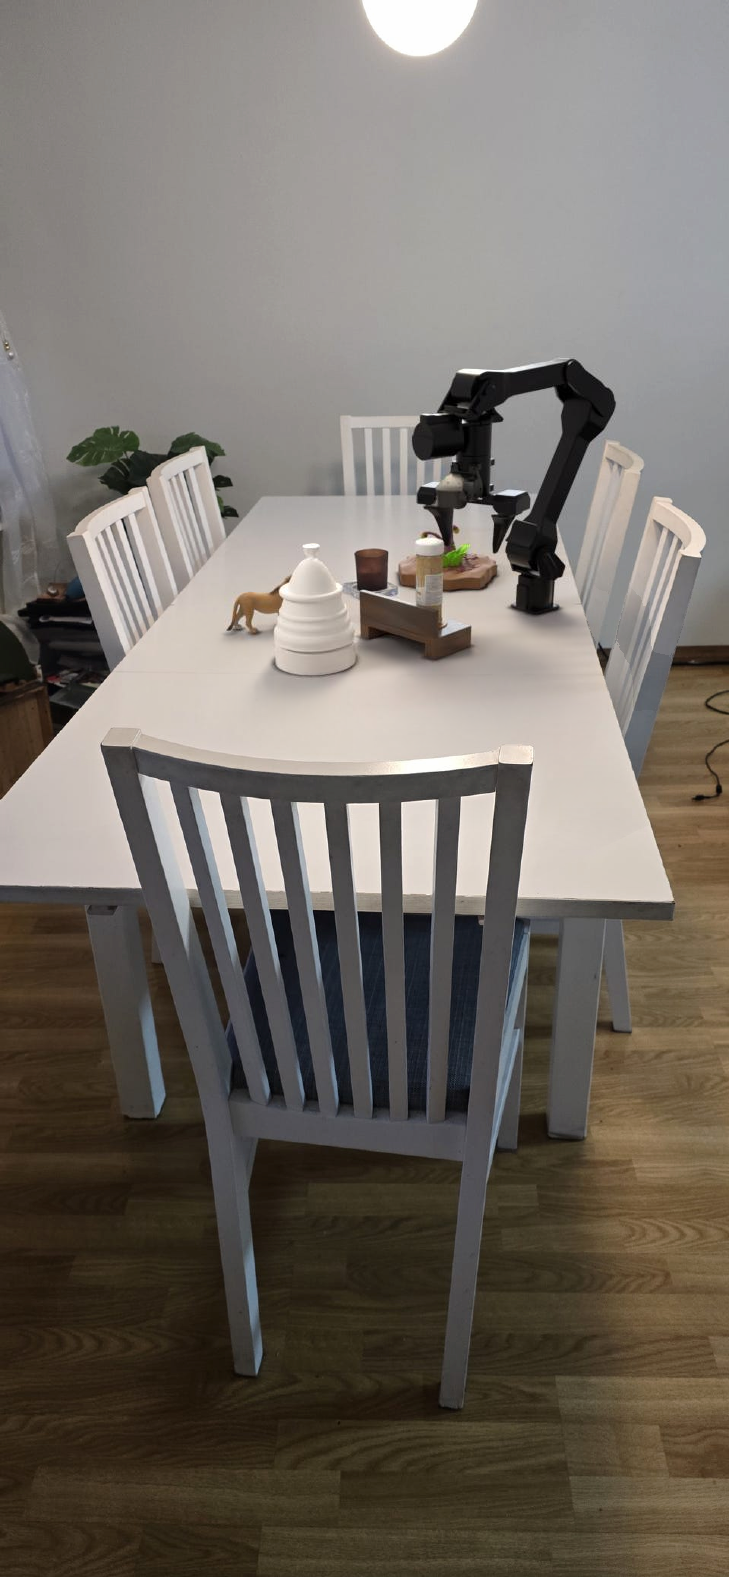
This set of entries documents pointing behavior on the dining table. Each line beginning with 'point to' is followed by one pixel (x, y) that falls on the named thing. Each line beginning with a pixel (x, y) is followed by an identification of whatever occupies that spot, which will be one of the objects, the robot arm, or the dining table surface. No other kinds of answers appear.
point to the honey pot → (313, 622)
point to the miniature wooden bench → (412, 624)
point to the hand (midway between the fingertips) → (471, 549)
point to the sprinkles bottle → (429, 573)
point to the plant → (454, 567)
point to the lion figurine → (256, 606)
